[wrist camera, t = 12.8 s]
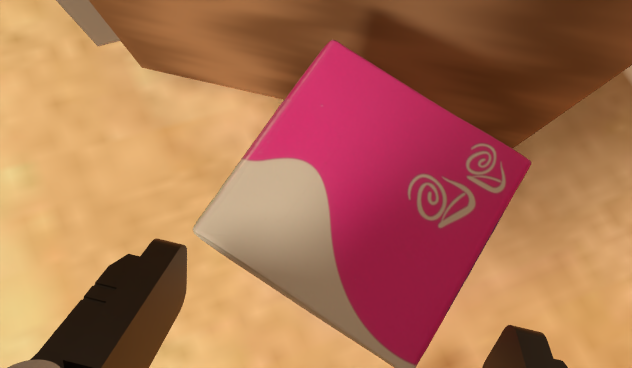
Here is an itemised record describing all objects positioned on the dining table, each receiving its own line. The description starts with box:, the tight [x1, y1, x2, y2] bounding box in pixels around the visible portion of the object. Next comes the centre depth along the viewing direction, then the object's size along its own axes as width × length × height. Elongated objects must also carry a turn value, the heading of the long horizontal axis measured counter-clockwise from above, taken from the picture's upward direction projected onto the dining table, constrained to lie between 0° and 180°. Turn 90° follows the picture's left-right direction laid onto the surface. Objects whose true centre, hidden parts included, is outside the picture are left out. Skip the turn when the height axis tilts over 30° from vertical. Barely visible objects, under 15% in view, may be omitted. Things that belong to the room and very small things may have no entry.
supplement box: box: [193, 40, 531, 368], centre depth 15 cm, size 6×6×12 cm
